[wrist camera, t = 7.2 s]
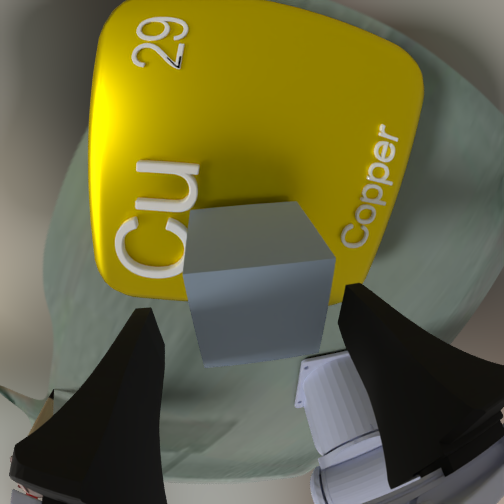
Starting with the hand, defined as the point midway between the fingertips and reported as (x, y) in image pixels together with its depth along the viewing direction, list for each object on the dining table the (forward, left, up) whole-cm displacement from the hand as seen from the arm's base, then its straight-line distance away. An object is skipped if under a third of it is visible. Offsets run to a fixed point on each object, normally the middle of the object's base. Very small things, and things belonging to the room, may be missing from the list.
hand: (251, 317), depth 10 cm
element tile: (+4, -1, -9) cm, 10 cm away
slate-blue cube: (+1, 0, -4) cm, 4 cm away
